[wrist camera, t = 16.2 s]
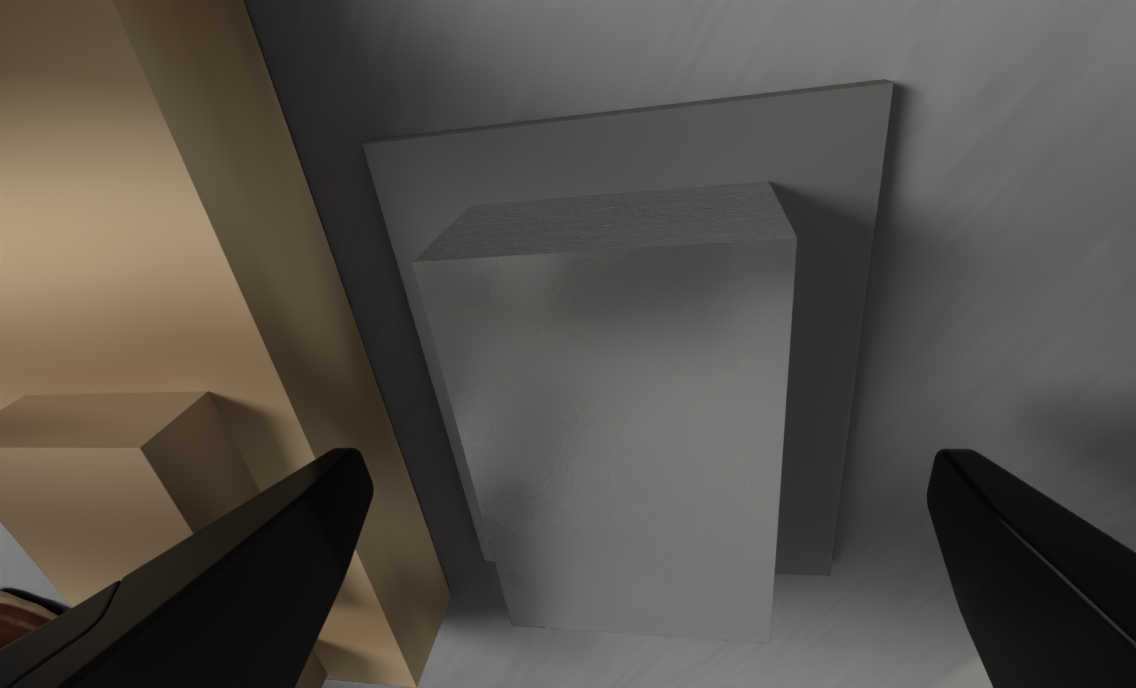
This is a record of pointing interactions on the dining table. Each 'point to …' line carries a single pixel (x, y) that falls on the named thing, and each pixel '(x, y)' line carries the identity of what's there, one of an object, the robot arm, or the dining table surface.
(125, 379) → the latch plate
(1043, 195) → the dining table surface
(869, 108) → the mat
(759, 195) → the grey flat block
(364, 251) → the dining table surface
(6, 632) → the brown jar
